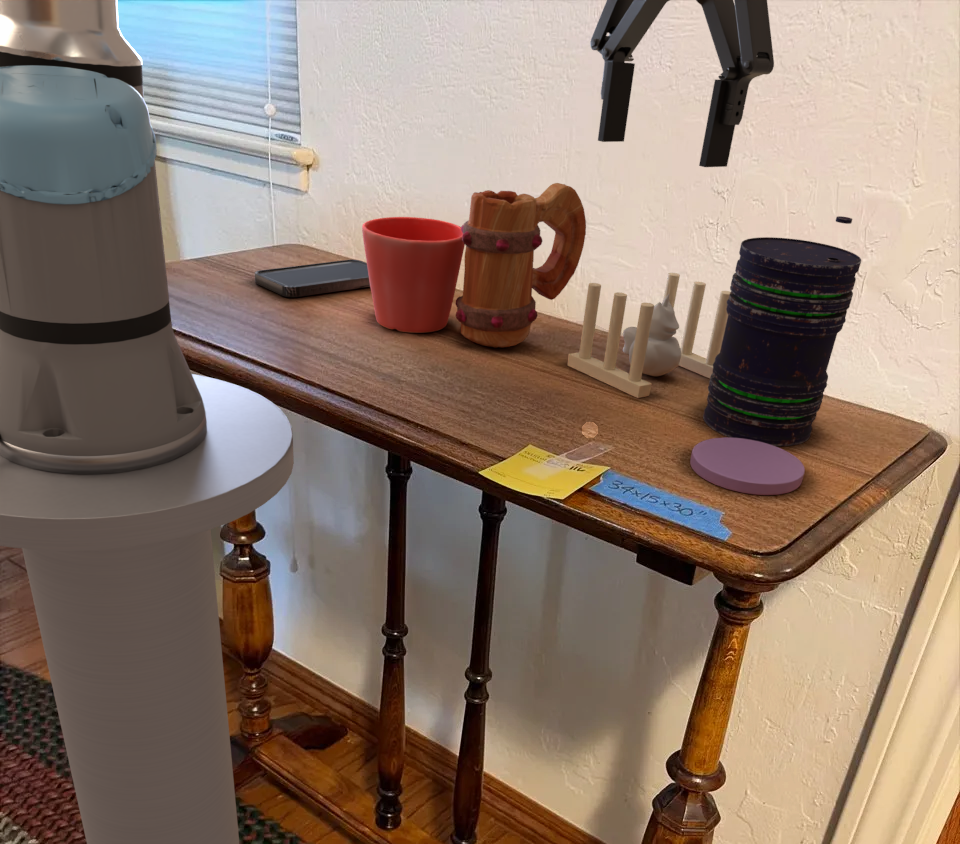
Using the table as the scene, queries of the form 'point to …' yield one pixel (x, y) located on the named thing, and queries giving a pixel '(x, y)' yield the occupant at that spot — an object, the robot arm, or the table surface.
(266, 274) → the phone
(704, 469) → the purple coaster
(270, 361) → the table surface
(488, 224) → the mug
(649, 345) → the grey lumpy piece
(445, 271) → the flower pot
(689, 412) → the table surface
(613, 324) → the rack
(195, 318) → the table surface
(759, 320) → the dark blue barrel
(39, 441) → the robot arm
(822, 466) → the table surface
